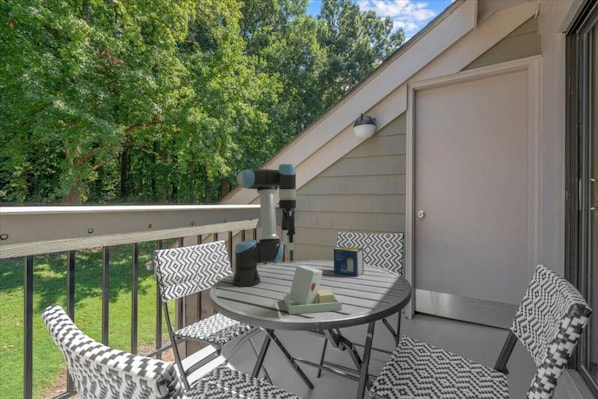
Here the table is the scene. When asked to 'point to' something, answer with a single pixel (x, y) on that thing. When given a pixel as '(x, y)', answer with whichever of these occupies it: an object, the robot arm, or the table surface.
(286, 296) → the green tray
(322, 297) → the tan rectangular block
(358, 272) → the protein box
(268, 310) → the table surface
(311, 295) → the supplement box
